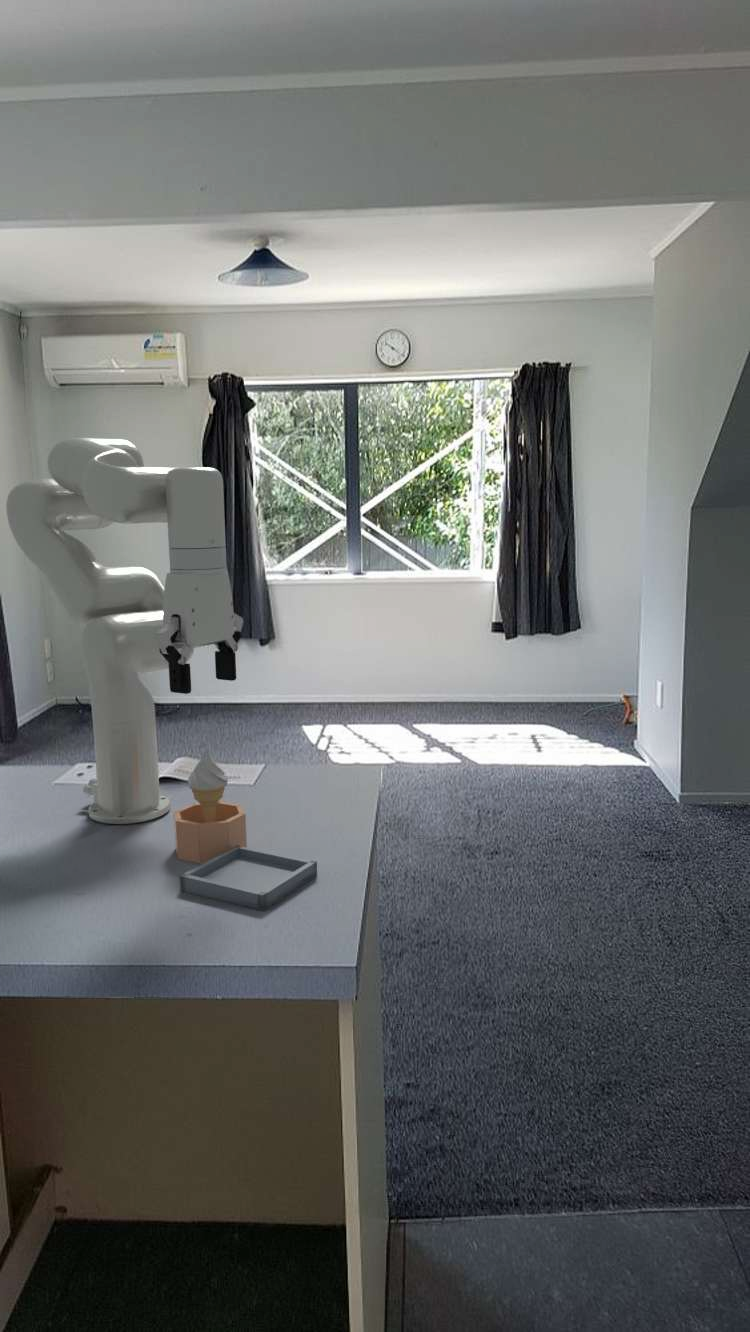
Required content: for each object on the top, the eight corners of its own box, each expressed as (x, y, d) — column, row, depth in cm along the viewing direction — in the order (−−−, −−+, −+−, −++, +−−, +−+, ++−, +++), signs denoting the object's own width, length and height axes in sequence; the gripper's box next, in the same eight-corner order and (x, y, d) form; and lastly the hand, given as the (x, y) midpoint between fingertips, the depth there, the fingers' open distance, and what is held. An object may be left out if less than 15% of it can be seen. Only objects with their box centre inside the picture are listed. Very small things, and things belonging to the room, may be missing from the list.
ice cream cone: (222, 858, 133) (218, 753, 130) (184, 855, 134) (179, 752, 131) (236, 843, 138) (232, 743, 135) (199, 841, 139) (195, 741, 136)
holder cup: (162, 855, 134) (160, 817, 133) (206, 833, 142) (204, 798, 141) (216, 867, 129) (214, 828, 128) (258, 844, 138) (257, 807, 137)
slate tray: (180, 890, 122) (179, 875, 122) (237, 858, 132) (237, 845, 132) (263, 910, 116) (263, 895, 115) (317, 875, 126) (316, 861, 126)
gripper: (216, 556, 138) (221, 673, 141) (131, 565, 123) (139, 695, 126) (259, 557, 134) (263, 677, 137) (176, 566, 119) (183, 700, 122)
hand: (204, 685), depth 131 cm, fingers open, 9 cm apart
